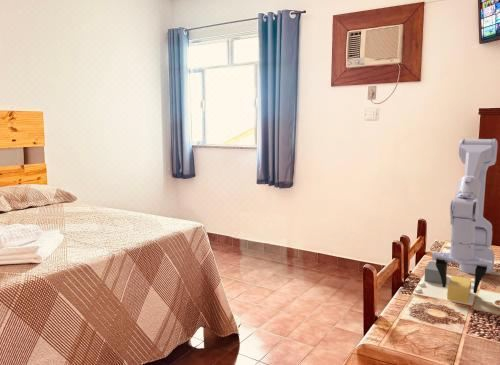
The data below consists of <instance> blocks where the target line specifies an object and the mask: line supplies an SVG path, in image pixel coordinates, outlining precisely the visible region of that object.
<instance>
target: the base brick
mask: <svg viewBox="0 0 500 365" xmlns="http://www.w3.org/2000/svg"><path fill="white" fill-rule="evenodd" d="M447 273H448V272H446V274H447ZM424 274H425V280H424V281H426V282H431V283H437V284H442V280H441V276H440V273H439V271H438V269H437V267H436V261H434V260H429V262H428V263H427V265H426V266H425V268H424Z"/></svg>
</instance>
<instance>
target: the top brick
mask: <svg viewBox="0 0 500 365" xmlns="http://www.w3.org/2000/svg"><path fill="white" fill-rule="evenodd" d="M451 276H452V277H451V279H450V281H449V284H448V293H447V299H450V300H455V301H460V302H465V303H468V300H469V297H470V293H471V280H472V279H471V278H467V277H461V276H456V275H451Z"/></svg>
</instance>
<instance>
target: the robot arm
mask: <svg viewBox="0 0 500 365" xmlns="http://www.w3.org/2000/svg"><path fill="white" fill-rule="evenodd" d="M497 153H498V140H497V139H496V138H491V139H490V138H487V139H486V138H462V139H461V140H460V141H459V144H458V156H459V158H460V161H461V162H462V164H464V172H463V173H464V175H463V177H460V179H459V180H458V182H457V186H456V192H455V195H454V198H453V199H451V201H450V205H449V216H450V225H451V227H450V229H451V231H450V232H451V233H450V247H449V248H450V249H449V250H450V251H449V252H435V251H433V253H432V257H431V261H433V262H436V267H437V269H438V271H439V273H440V276H441V280H442V287H446V282H447V279H446V275H447V273H448V272H447V270H448V269H447V268H448V263H453V264H458V265H459V268H458V269H459V270H460V271H461V272H463V273H467V274H470V275H471V274H473V275H474V279H475V284H474V291H473V293H475V294H477V293H478V288H479V285H480V283H481V281H482V280H483V278H484V276H485V275H486V274H489V273H494V268H495V253H494V250H493V248H491V246H492V241H493V225H492V223H491V222H490V221H489V220H487V219H486V218H485V217H484V209H485V208H484V207H485V206H484V205H485V192H486V182H487V181H486V179H487V171H488V169H489V167H491V166H494V165H495V164H496V162H497V155H498V154H497ZM446 272H447V273H446Z"/></svg>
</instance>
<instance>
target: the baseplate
mask: <svg viewBox="0 0 500 365" xmlns="http://www.w3.org/2000/svg"><path fill="white" fill-rule="evenodd" d="M452 276H453V275H449V274H446V279H447V282H446V287H442V284H437V283H431V282H426V281H424V280H425V273H424V274H423V275H422V277H421V279H420V281H419V282H418V283H417V285H416V287H415V288H414V290H413V291H412V294H414V295H419V296H423V297H427V298H428V297H429V298H434V299H439V300H442V301H443V300H444V301H447V302H453V303H457V304H464V305H466V306H473V305H474V301H475V298H476V297H475V296H476V293H473V291H474V284H475V278H470V279H472V280H471V293H470V297H469V300H468V303H465V302H460V301H455V300H450V299H447V293H448V284H449V281H450V279H451V277H452Z"/></svg>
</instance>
